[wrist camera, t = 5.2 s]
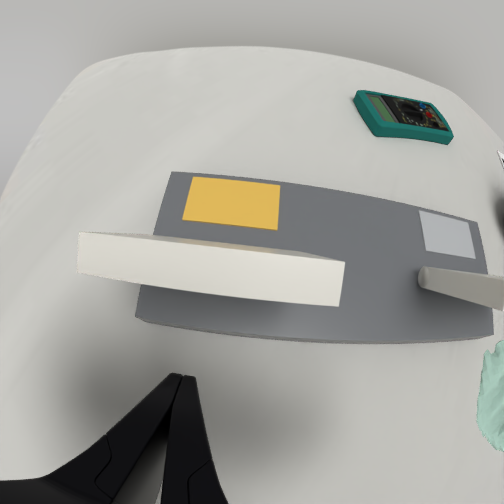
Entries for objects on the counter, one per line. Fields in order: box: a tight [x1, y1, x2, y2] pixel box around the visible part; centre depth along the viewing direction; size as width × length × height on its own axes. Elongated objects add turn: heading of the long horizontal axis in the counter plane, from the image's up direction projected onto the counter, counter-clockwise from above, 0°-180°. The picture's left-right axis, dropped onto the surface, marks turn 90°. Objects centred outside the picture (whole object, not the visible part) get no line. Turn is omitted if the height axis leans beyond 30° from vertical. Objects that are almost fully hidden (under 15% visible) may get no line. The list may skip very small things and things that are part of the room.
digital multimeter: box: [354, 90, 454, 145], centre depth 30 cm, size 7×15×3 cm, turn 99°
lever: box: [418, 266, 504, 311], centre depth 14 cm, size 2×10×10 cm, turn 84°
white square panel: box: [77, 232, 345, 307], centre depth 14 cm, size 2×10×10 cm, turn 85°
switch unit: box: [135, 172, 494, 344], centre depth 21 cm, size 12×31×3 cm, turn 84°
